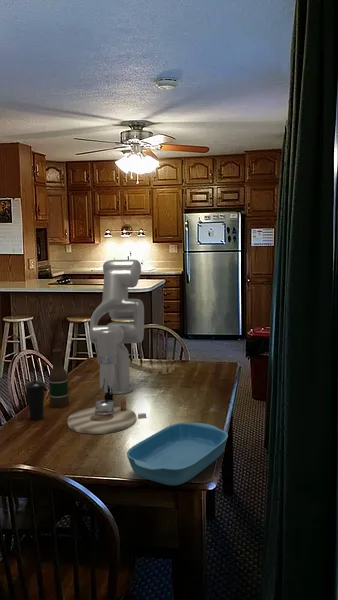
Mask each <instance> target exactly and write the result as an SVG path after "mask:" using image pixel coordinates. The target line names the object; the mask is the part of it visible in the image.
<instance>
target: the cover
mask: <svg viewBox="0 0 338 600" xmlns="http://www.w3.org/2000/svg"><path fill="white" fill-rule="evenodd" d="M94 403H95V405H94V407H96V410H95V414H96V415H99V416H107V415H111V414H113V413H114V407H115V406H114V400H113V401H111V400H105V399H101V400H100V399H99V400H96V402H94Z"/></svg>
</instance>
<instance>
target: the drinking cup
mask: <svg viewBox="0 0 338 600" xmlns="http://www.w3.org/2000/svg"><path fill="white" fill-rule="evenodd" d="M32 370H33V380H31V381H29V382H26V383H25V384H24V387H25V391H26V397H27V404H28V405H27V406H28V411H29V417H30V420H31V421H37V420H38V421H40V420H42V419H43V418H44V404H45V403H44V402H45V401H44V400H45V385H46V383H45V382H44V381H42V380H36V368H35V367H33V369H32Z"/></svg>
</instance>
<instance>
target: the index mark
mask: <svg viewBox="0 0 338 600" xmlns="http://www.w3.org/2000/svg"><path fill="white" fill-rule="evenodd" d="M137 418H138V419H147V413H146V412H143V413H137Z"/></svg>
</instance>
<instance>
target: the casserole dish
mask: <svg viewBox="0 0 338 600" xmlns="http://www.w3.org/2000/svg"><path fill="white" fill-rule="evenodd" d="M228 437H229V434H228V433H227V432H226V431H224V430H222V429H220V428H218V426H215V425H212V424H210V423H209V424H208V423H205V422H201V423H200V422H179V423H173V424H171V425H168V426H166V427H165V428H162V429H160V430H159V431H157V432H155V433H153V434H152V435H150V436H148V437H147V438H145V439H143V440H141V441H139V442H137V443H136V444H134V445H133V446H132V447H130V448H129V449H128V450H127V452H126V457H127V460H128V462H129V465H130V467H131V469H132V470H133V472H134V473H135V474H136V475H137V476H138V477H140V478H142V477H143V479H145V478H146V479H145V480H149V481H152V482H156V483H159V484H162V485H166V486H179V485H182V484H185V483H187V482H189V481H191V480H192V479H194V478H195V477H196V476H198V475H199V474H200V473H201V472H202V471H203V470H205V469H206V468H207V467H209V466H210V465H211V464H213V462H215V461H216V460H217V459H218V458H219V457H220V456H221V455H222V454H223V453H224V452H223V451H224V449H225V448H226V444H227V440H228Z"/></svg>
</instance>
